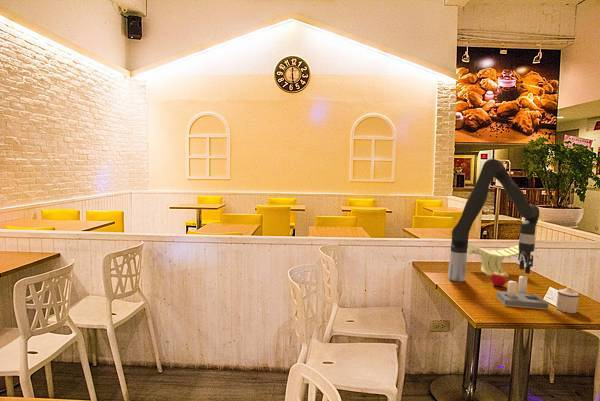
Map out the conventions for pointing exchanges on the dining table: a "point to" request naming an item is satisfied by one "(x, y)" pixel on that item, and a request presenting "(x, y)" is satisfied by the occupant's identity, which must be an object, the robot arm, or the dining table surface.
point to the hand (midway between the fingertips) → (524, 271)
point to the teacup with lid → (567, 300)
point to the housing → (523, 300)
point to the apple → (498, 278)
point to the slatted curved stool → (493, 258)
